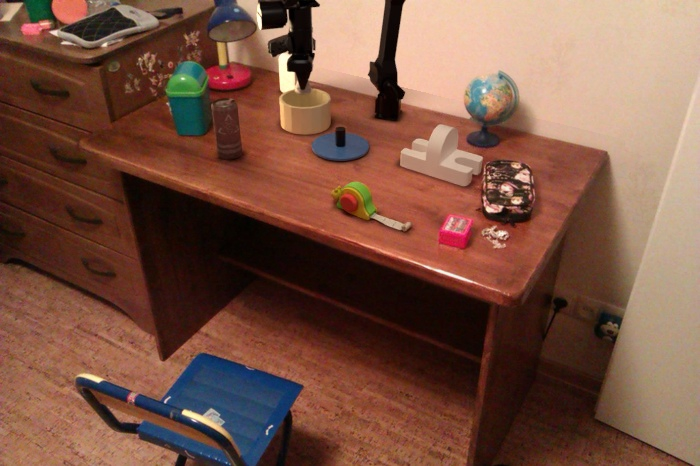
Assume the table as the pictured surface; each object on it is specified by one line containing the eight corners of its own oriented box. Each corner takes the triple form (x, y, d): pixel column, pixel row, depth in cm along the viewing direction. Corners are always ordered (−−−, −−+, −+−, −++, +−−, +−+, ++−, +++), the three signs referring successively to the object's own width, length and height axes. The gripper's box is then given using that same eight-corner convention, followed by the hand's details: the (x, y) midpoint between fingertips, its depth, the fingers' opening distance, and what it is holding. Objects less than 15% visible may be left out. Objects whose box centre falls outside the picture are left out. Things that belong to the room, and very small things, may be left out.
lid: (364, 135, 161) (365, 115, 158) (372, 161, 149) (373, 140, 146) (310, 137, 160) (309, 117, 156) (313, 164, 148) (313, 143, 144)
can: (247, 151, 153) (242, 99, 145) (233, 162, 148) (227, 109, 140) (227, 146, 155) (221, 94, 147) (212, 157, 150) (205, 104, 142)
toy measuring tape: (341, 195, 136) (341, 169, 132) (416, 224, 127) (418, 197, 123) (324, 208, 132) (323, 182, 128) (400, 238, 123) (402, 211, 119)
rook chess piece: (314, 89, 160) (313, 60, 156) (308, 96, 157) (306, 66, 152) (298, 87, 162) (297, 58, 157) (292, 94, 158) (290, 64, 153)
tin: (328, 112, 172) (328, 87, 168) (332, 133, 161) (332, 107, 157) (280, 114, 171) (278, 88, 167) (281, 135, 160) (279, 109, 156)
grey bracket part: (465, 187, 140) (471, 145, 133) (398, 165, 148) (400, 125, 141) (482, 170, 146) (488, 129, 140) (416, 150, 154) (420, 111, 148)
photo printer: (308, 99, 180) (306, 58, 173) (295, 102, 178) (293, 61, 171) (290, 88, 187) (288, 48, 179) (278, 91, 185) (275, 51, 177)
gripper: (272, 14, 157) (276, 72, 166) (263, 37, 142) (268, 100, 151) (315, 14, 157) (316, 73, 166) (310, 38, 142) (313, 100, 151)
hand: (303, 86), depth 158 cm, fingers closed on rook chess piece, 4 cm apart
